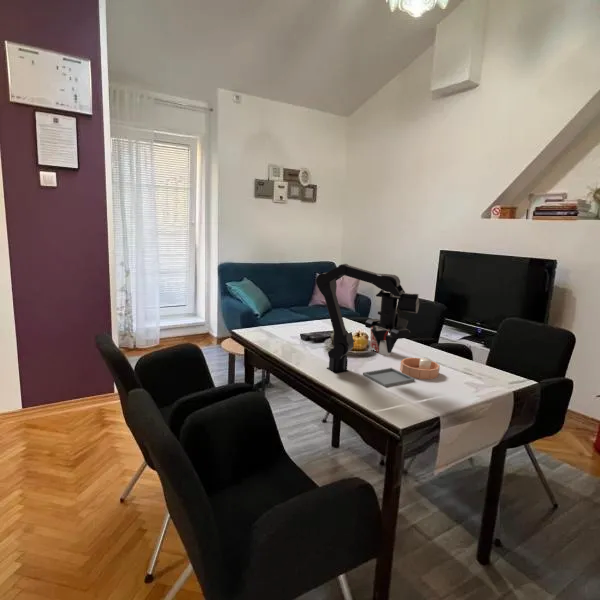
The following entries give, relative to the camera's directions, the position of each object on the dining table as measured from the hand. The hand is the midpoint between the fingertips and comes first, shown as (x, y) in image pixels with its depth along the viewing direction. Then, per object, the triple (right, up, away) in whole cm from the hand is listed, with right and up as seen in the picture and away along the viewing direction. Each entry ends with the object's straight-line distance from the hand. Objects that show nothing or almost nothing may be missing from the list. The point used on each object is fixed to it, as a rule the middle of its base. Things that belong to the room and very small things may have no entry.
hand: (385, 350), depth 155 cm
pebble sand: (+18, -9, +12) cm, 24 cm away
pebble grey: (0, -1, 0) cm, 1 cm away
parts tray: (+2, -11, +3) cm, 12 cm away
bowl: (+16, -10, +11) cm, 22 cm away
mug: (+6, -5, +39) cm, 39 cm away
